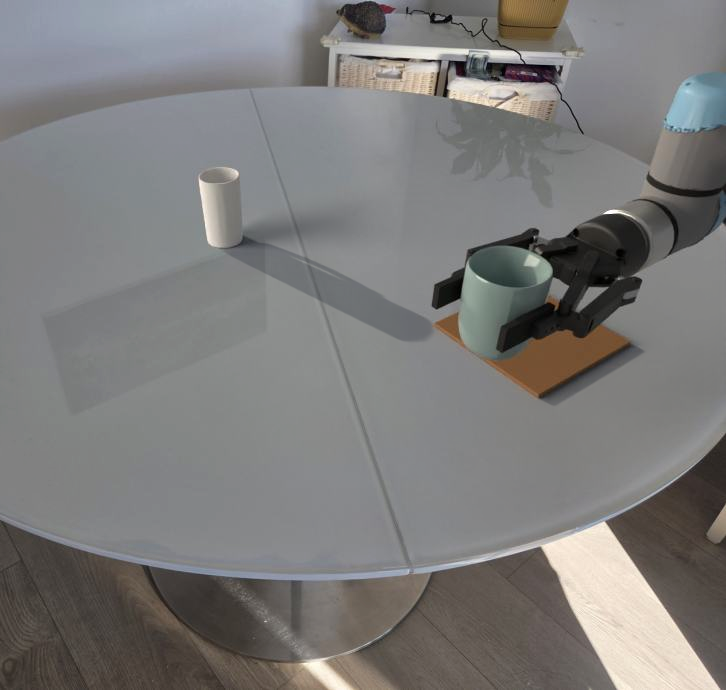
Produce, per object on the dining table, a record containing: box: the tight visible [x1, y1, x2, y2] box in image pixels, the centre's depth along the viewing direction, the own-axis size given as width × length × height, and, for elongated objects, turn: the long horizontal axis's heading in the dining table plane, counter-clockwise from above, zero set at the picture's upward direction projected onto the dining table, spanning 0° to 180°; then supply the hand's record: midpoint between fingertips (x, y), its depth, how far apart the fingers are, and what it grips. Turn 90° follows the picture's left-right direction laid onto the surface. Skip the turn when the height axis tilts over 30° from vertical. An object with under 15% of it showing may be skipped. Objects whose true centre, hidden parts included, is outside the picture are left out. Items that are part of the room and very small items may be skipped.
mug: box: [198, 166, 244, 249], centre depth 110 cm, size 10×7×12 cm, turn 2°
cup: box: [458, 246, 554, 361], centre depth 64 cm, size 8×8×10 cm
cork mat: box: [433, 295, 632, 399], centre depth 87 cm, size 18×18×1 cm
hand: (467, 317), depth 61 cm, fingers closed on cup, 8 cm apart
